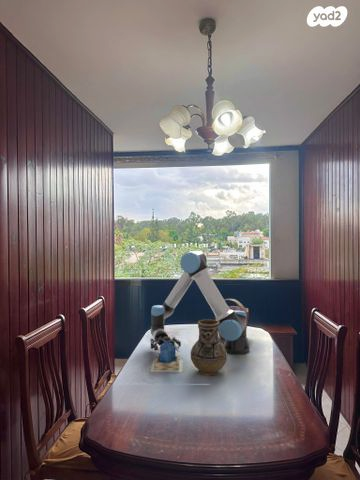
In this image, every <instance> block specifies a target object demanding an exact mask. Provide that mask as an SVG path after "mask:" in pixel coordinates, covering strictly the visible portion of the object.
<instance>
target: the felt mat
mask: <svg viewBox="0 0 360 480" xmlns="http://www.w3.org/2000/svg"><path fill="white" fill-rule="evenodd" d="M154 362H155V359H153V360H152V364H151V367H150V370H149V372H150V373H182V372H183V369H184V368H183V367H184V365H183V364H184V360H183V359H179V370H154Z"/></svg>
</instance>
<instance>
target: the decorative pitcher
mask: <svg viewBox="0 0 360 480" xmlns="http://www.w3.org/2000/svg"><path fill="white" fill-rule="evenodd" d="M218 325H219V321H217V320H216V319H211V318H207V319H200V320H198V321H197V328H198V339H197V341H196V342H195V343H194V345H193V346H192V348H191V350H190V361H191V362H192V364H193V366H194V367H195V368H196V369H197V370H198V373H199V374H201V375H205V376H215V375H217V374H219V371H220V370H222V369H223V367H224V366H225V364H226V362H227V359H228V352H226V350H225V348H224V344H222V343H223V342H221V340H220V341H219V339H218V336H219V334H218V327H219V326H218Z"/></svg>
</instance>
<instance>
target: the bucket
mask: <svg viewBox="0 0 360 480" xmlns="http://www.w3.org/2000/svg"><path fill="white" fill-rule="evenodd" d="M223 299H224V300H225V302H226V301H231V302H233V303H235V304H236V305H235V306H234V305H231V306H229V305H228V307H229V309H230V310H237V311H244V312H246V316H247V318H246V330H247V329H248V322H249V318H250V313H249V308H247V307H245V306H244V305H243V304H242V303H241V302H240V301H238V300H237V299H235V298H226V299H225V298H223ZM214 320H216V316H215V315H214ZM218 336H220V340H223V341H224V342H225V339H224V338H223V337H222V336H221V335H220V332H219V327H218Z"/></svg>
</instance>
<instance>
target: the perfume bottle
mask: <svg viewBox="0 0 360 480" xmlns="http://www.w3.org/2000/svg"><path fill="white" fill-rule="evenodd" d="M170 339H171V337H170V336H168V337H164V343H163V344H161V345H160V353H158V355H159V361H160V362H163V363H171V362H173V361H175V360H176V352H177V351H176V349H175V347H174V345H173V344H172V343H170Z"/></svg>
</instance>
